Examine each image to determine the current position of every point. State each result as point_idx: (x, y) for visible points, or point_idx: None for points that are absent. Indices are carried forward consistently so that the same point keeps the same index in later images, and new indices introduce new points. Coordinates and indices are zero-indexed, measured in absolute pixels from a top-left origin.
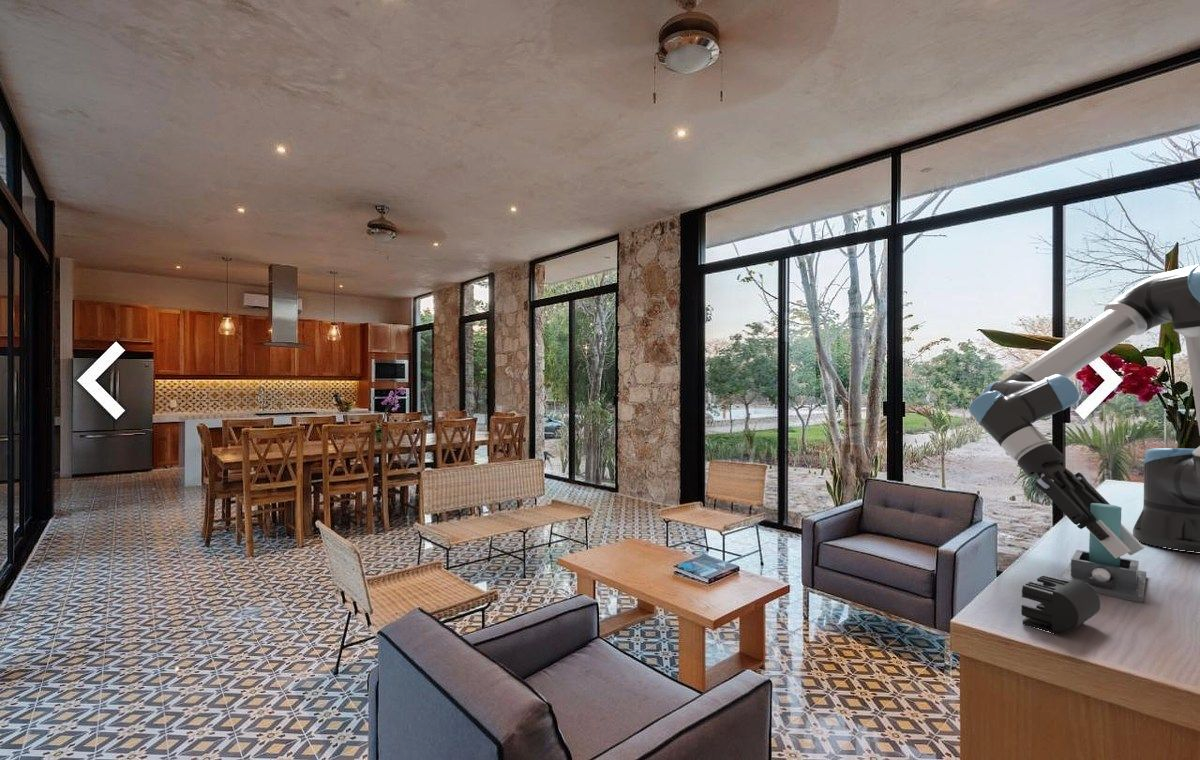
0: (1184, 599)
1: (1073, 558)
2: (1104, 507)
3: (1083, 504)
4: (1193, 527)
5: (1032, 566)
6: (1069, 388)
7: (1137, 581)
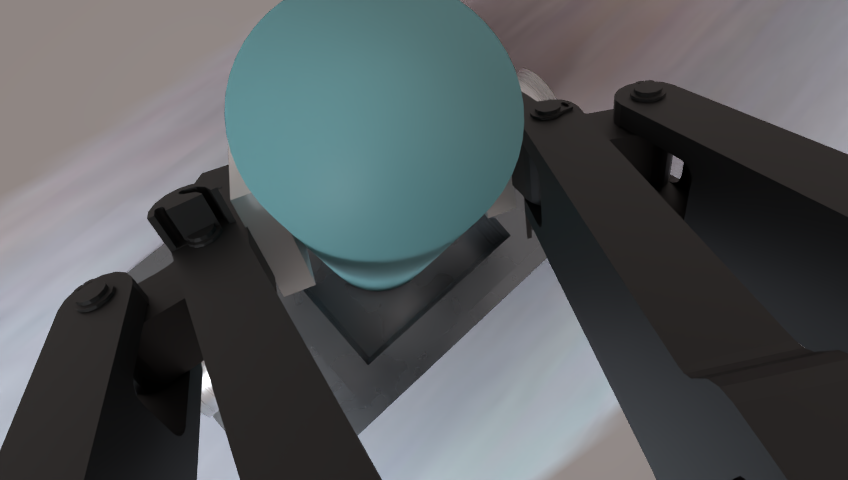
0: None
1: (524, 250)
2: (484, 28)
3: (591, 199)
4: None
5: (548, 422)
6: None
7: None
